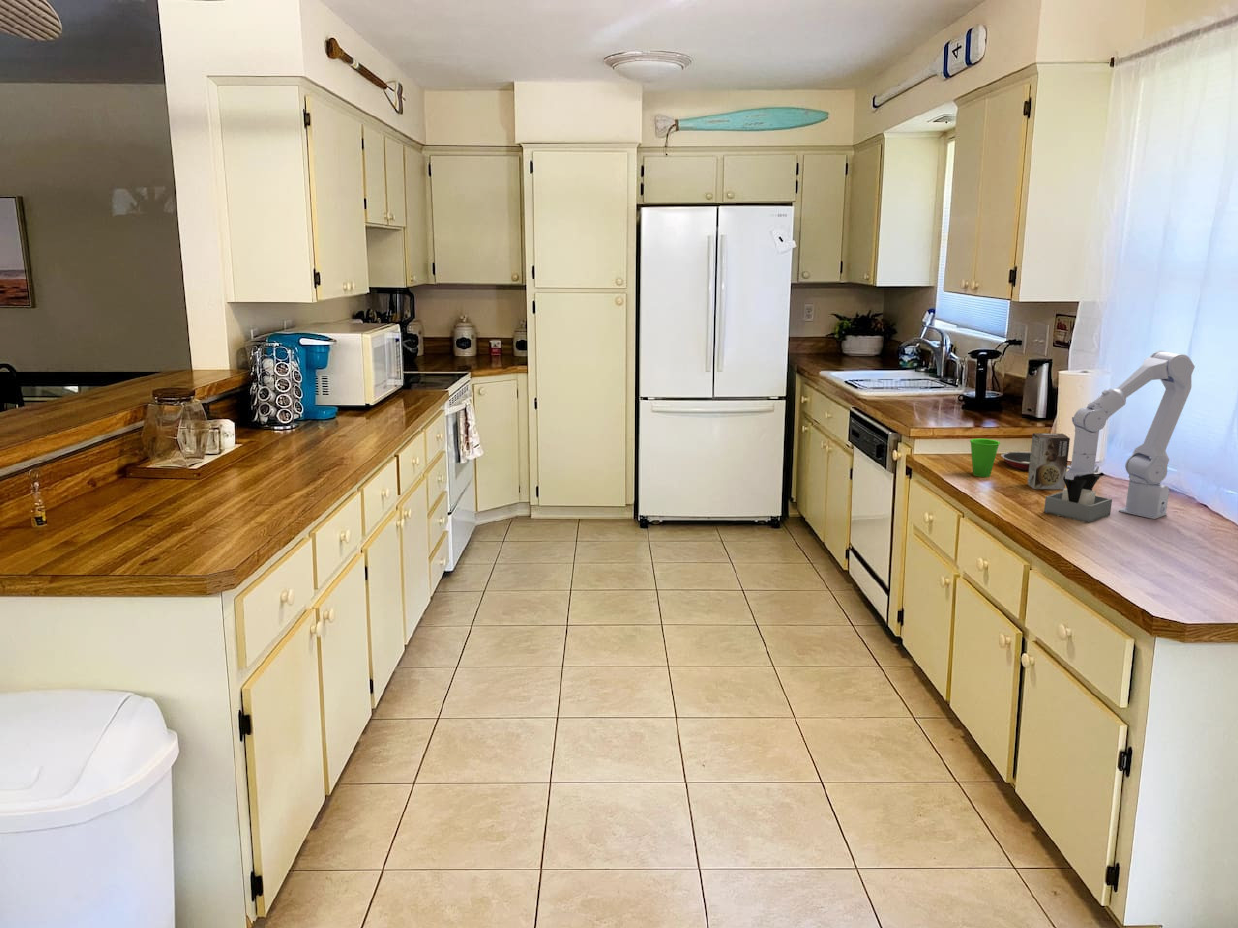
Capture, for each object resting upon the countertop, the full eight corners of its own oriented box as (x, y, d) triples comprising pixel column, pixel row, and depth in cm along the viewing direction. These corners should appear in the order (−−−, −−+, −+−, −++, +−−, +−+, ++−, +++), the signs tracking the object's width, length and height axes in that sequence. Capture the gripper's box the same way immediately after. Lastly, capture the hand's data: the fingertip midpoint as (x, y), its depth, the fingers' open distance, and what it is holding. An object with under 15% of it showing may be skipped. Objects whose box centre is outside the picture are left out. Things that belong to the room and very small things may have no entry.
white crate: (1093, 507, 253) (1095, 491, 252) (1084, 510, 250) (1086, 494, 249) (1070, 502, 258) (1072, 486, 257) (1061, 505, 255) (1063, 489, 254)
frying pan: (1048, 460, 317) (1050, 450, 317) (1089, 484, 286) (1090, 472, 285) (992, 459, 318) (993, 449, 318) (1026, 483, 287) (1027, 471, 287)
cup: (960, 473, 299) (963, 439, 296) (981, 470, 302) (984, 437, 300) (981, 479, 291) (985, 445, 288) (1003, 476, 294) (1006, 442, 292)
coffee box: (1057, 484, 285) (1063, 433, 281) (1065, 490, 279) (1071, 437, 275) (1026, 484, 286) (1032, 432, 282) (1033, 489, 280) (1039, 436, 276)
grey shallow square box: (1110, 515, 254) (1112, 499, 253) (1088, 522, 246) (1090, 506, 245) (1066, 505, 263) (1067, 489, 262) (1043, 512, 256) (1045, 496, 255)
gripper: (1082, 446, 258) (1076, 493, 261) (1056, 453, 249) (1050, 502, 252) (1108, 451, 253) (1102, 499, 256) (1082, 458, 244) (1076, 508, 247)
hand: (1078, 501), depth 254 cm, fingers closed on white crate, 5 cm apart
